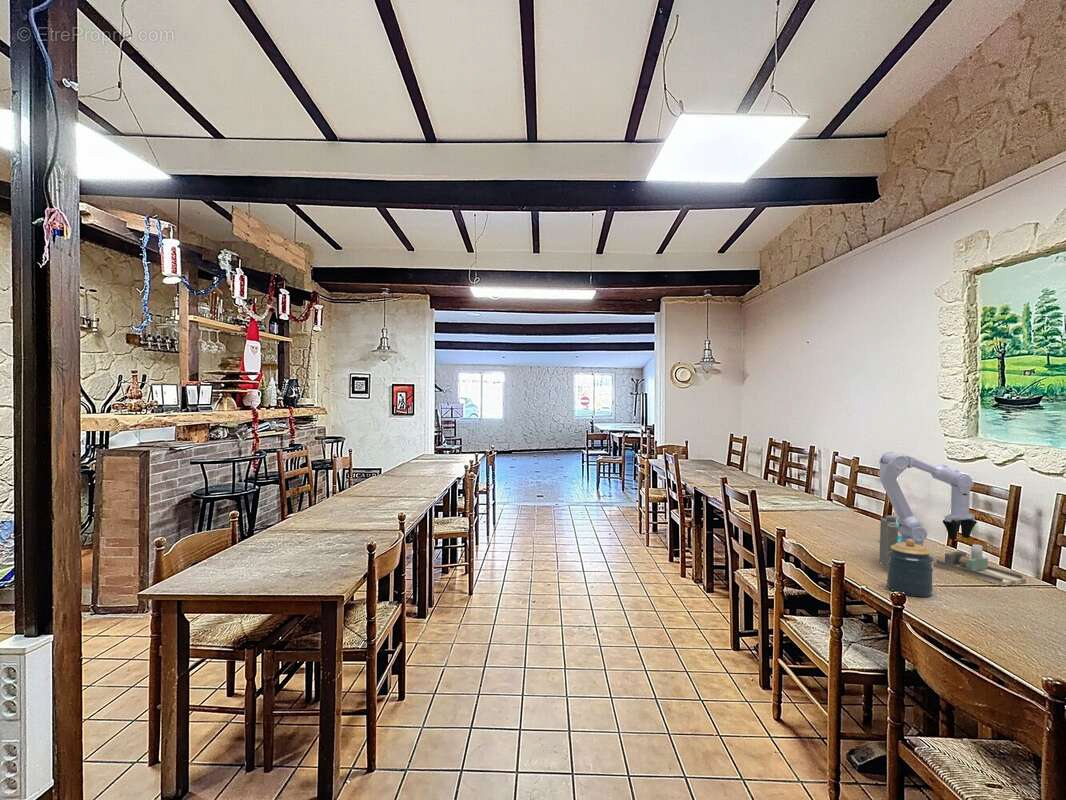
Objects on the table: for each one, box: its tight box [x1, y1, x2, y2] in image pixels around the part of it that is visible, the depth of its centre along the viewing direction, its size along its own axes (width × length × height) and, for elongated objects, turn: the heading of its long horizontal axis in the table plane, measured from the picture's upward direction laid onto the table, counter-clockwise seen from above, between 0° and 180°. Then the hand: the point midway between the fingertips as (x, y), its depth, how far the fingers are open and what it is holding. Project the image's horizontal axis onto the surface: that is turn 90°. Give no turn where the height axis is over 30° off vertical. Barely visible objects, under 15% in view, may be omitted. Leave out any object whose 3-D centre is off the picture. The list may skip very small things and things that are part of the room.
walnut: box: [959, 555, 971, 567], centre depth 214 cm, size 4×4×4 cm
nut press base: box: [933, 551, 1027, 587], centre depth 209 cm, size 12×24×6 cm, turn 21°
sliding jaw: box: [966, 543, 989, 571], centre depth 210 cm, size 9×3×9 cm, turn 111°
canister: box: [886, 539, 934, 598], centre depth 191 cm, size 13×13×18 cm
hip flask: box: [879, 515, 899, 573], centre depth 215 cm, size 16×4×20 cm, turn 159°
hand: (959, 538), depth 220 cm, fingers open, 7 cm apart
